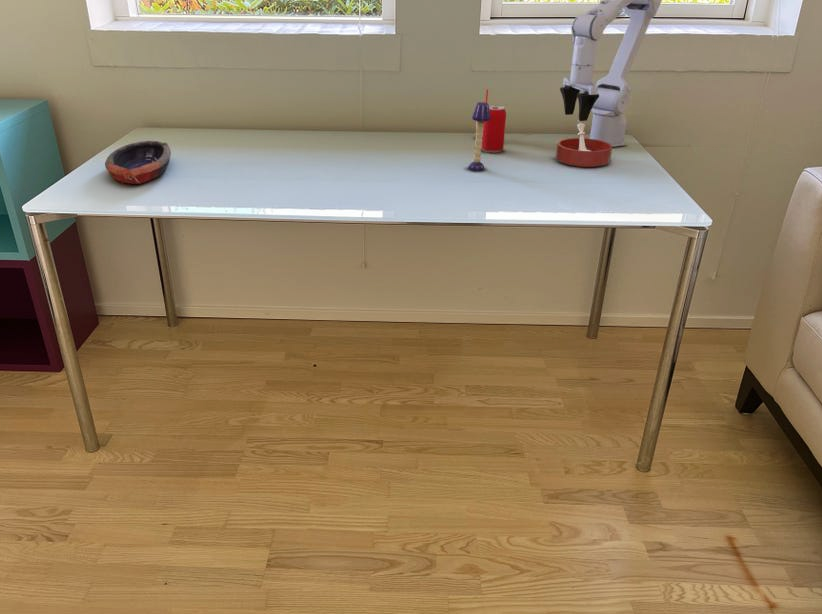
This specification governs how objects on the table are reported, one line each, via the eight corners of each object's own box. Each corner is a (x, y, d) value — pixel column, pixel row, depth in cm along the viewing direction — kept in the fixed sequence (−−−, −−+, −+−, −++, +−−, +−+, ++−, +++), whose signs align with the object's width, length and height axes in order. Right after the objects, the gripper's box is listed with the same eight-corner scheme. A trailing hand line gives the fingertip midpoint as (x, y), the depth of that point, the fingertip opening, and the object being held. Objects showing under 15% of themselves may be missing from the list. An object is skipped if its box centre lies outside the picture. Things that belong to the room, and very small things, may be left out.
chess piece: (570, 157, 199) (568, 119, 198) (588, 155, 199) (586, 118, 198) (576, 154, 194) (574, 115, 193) (594, 152, 194) (592, 114, 193)
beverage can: (502, 148, 208) (506, 104, 202) (503, 154, 203) (507, 109, 197) (480, 147, 209) (483, 104, 203) (481, 153, 204) (484, 109, 197)
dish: (181, 155, 201) (179, 137, 199) (159, 189, 175) (156, 169, 172) (124, 156, 200) (121, 137, 198) (93, 190, 174) (89, 170, 171)
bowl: (577, 151, 206) (579, 135, 203) (620, 162, 196) (622, 145, 194) (544, 160, 198) (546, 143, 196) (587, 171, 189) (589, 154, 186)
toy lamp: (474, 165, 193) (478, 100, 185) (489, 168, 191) (494, 102, 182) (465, 169, 190) (469, 103, 181) (480, 172, 188) (485, 105, 179)
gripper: (556, 60, 196) (550, 112, 203) (583, 69, 184) (576, 124, 191) (579, 59, 198) (572, 111, 205) (607, 68, 186) (599, 122, 193)
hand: (575, 117), depth 198 cm, fingers open, 7 cm apart
